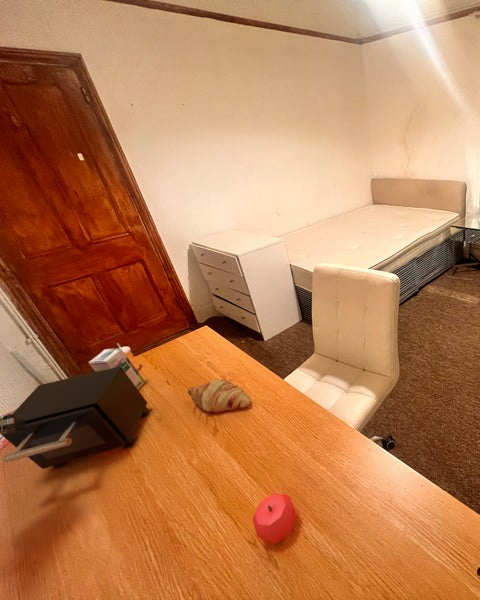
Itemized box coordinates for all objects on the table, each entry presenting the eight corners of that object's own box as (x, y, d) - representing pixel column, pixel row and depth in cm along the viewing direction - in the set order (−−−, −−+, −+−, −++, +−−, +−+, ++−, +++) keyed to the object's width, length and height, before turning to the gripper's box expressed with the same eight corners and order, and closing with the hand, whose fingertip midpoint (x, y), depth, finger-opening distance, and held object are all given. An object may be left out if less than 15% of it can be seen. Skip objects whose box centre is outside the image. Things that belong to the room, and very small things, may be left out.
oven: (134, 446, 80) (96, 402, 72) (51, 470, 76) (-1, 427, 67) (151, 408, 91) (120, 366, 82) (79, 427, 87) (38, 385, 78)
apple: (281, 497, 67) (271, 476, 63) (308, 516, 64) (298, 496, 59) (250, 534, 61) (236, 515, 57) (277, 558, 58) (265, 539, 54)
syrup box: (133, 395, 96) (106, 360, 88) (115, 396, 96) (87, 361, 89) (146, 381, 101) (122, 347, 93) (128, 382, 101) (103, 348, 94)
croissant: (261, 406, 93) (261, 380, 93) (236, 421, 83) (237, 392, 83) (202, 396, 98) (203, 371, 97) (173, 409, 88) (173, 382, 87)
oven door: (112, 469, 73) (76, 433, 65) (24, 495, 69) (-25, 459, 61) (126, 442, 79) (94, 406, 71) (45, 464, 75) (3, 428, 68)
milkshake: (140, 361, 110) (125, 339, 105) (143, 368, 107) (127, 346, 101) (125, 368, 107) (108, 346, 102) (127, 376, 104) (110, 353, 99)
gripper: (-39, 401, 49) (58, 397, 65) (-152, 427, 46) (-20, 416, 62) (-41, 451, 47) (59, 433, 64) (-158, 481, 44) (-21, 455, 61)
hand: (20, 425), depth 63 cm, fingers closed
